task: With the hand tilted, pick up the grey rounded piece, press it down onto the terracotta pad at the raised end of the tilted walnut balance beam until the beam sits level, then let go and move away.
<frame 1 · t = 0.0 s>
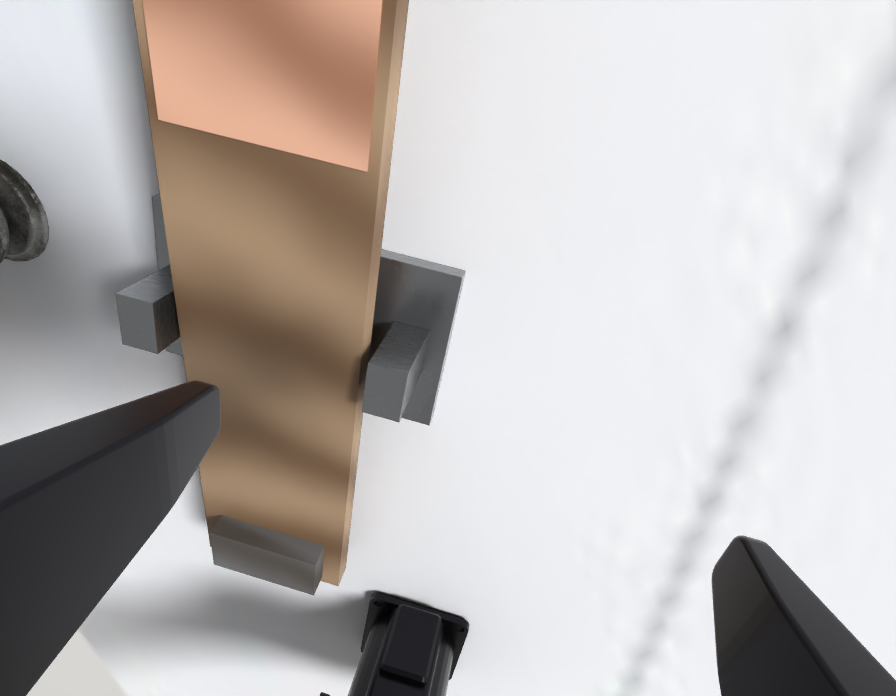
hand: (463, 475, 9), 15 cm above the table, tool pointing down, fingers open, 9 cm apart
grey rounded piece: (2, 207, 26), on the table
beam stand: (306, 310, 26), on the table
beam: (267, 349, 22), point 4 cm above the table, hinge at -5.0°
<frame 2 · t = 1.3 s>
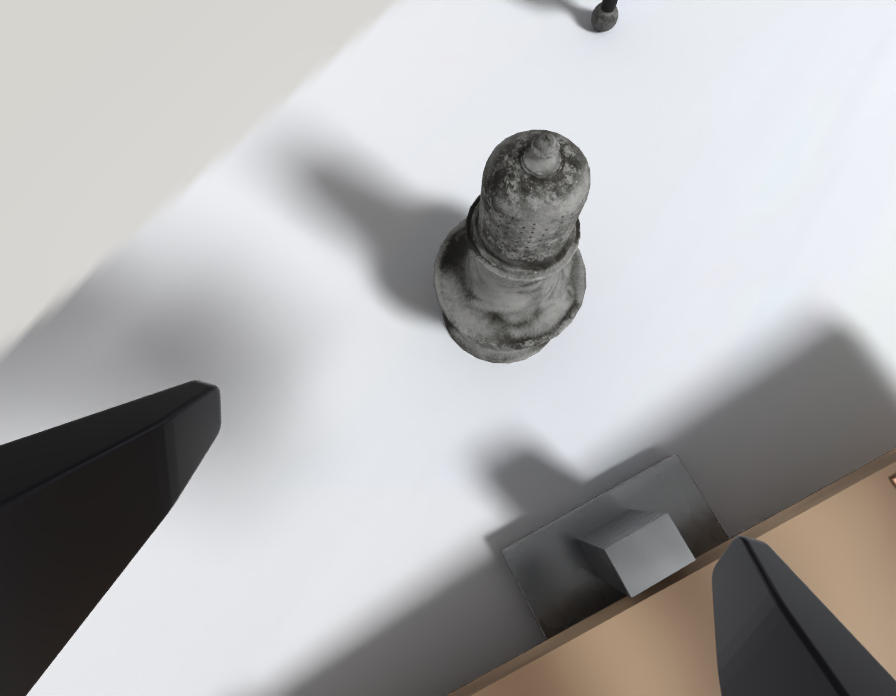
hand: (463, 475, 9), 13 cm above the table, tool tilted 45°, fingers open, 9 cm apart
grey rounded piece: (500, 307, 24), on the table
microphone: (600, 30, 28), on the table
beam stand: (683, 673, 20), on the table
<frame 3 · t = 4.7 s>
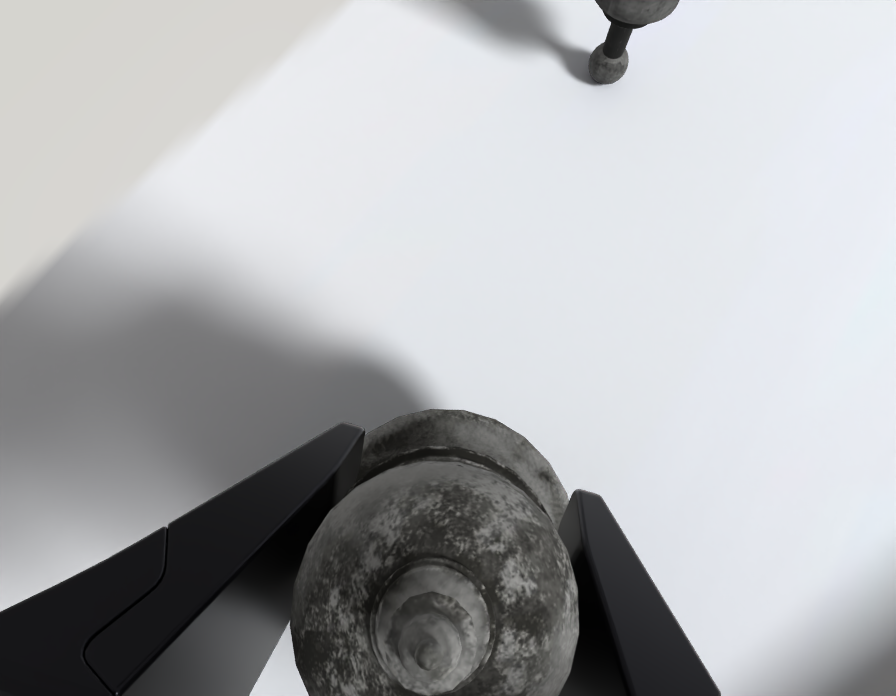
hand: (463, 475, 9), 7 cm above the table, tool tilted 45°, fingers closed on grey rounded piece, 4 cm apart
grey rounded piece: (444, 530, 15), on the table, touching gripper
microphone: (601, 81, 19), on the table
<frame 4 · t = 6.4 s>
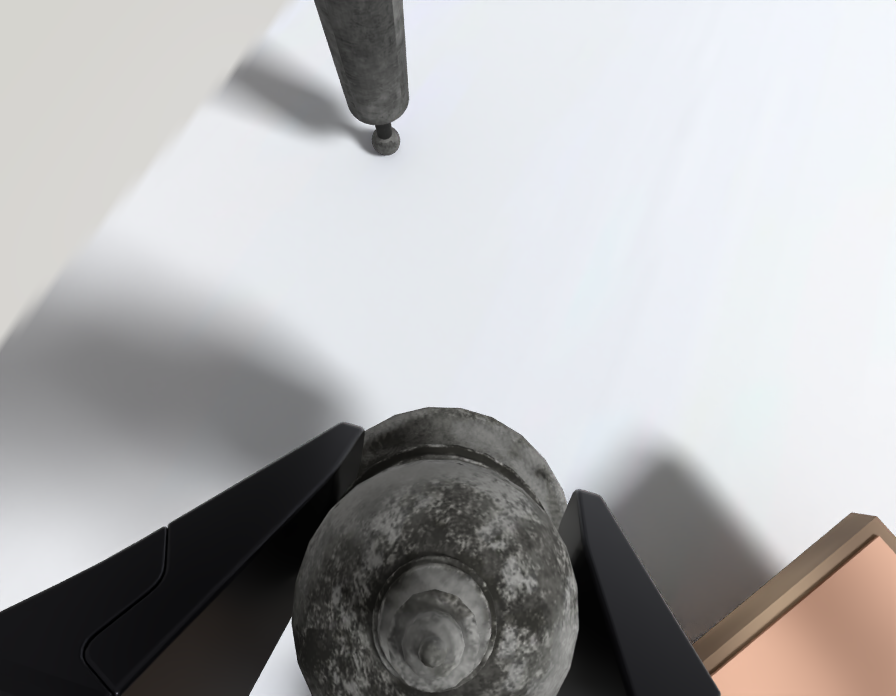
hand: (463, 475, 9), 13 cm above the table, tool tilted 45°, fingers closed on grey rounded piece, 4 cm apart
grey rounded piece: (441, 528, 15), point 6 cm above the table, touching gripper
microphone: (388, 151, 26), on the table
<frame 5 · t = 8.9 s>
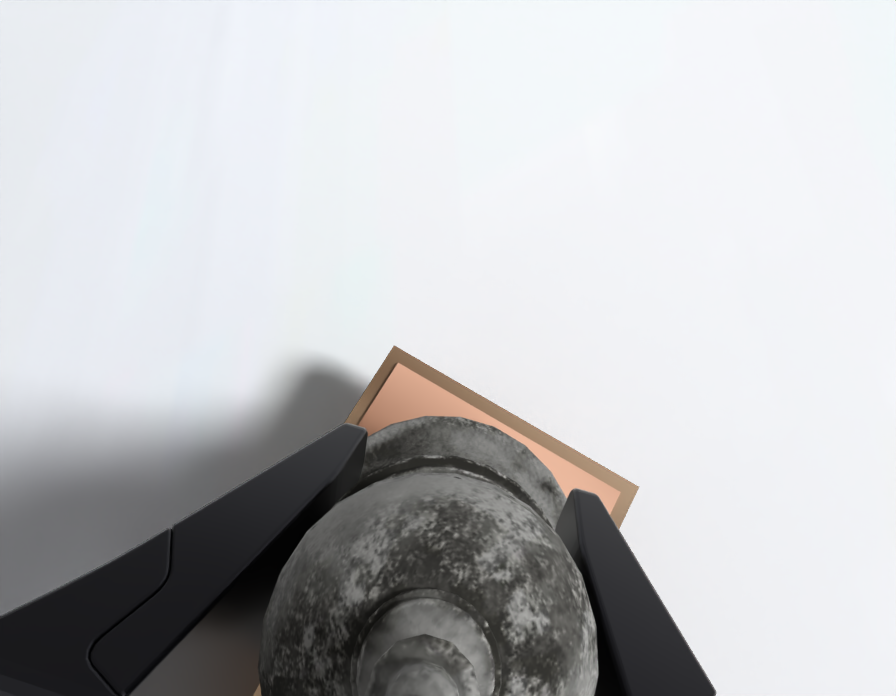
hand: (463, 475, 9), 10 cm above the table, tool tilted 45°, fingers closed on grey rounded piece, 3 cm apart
grey rounded piece: (440, 544, 15), point 4 cm above the table, touching beam, gripper
when the fingers open (10 cm above the table, at t = 10.2 s): grey rounded piece stays where it is, resting on beam.
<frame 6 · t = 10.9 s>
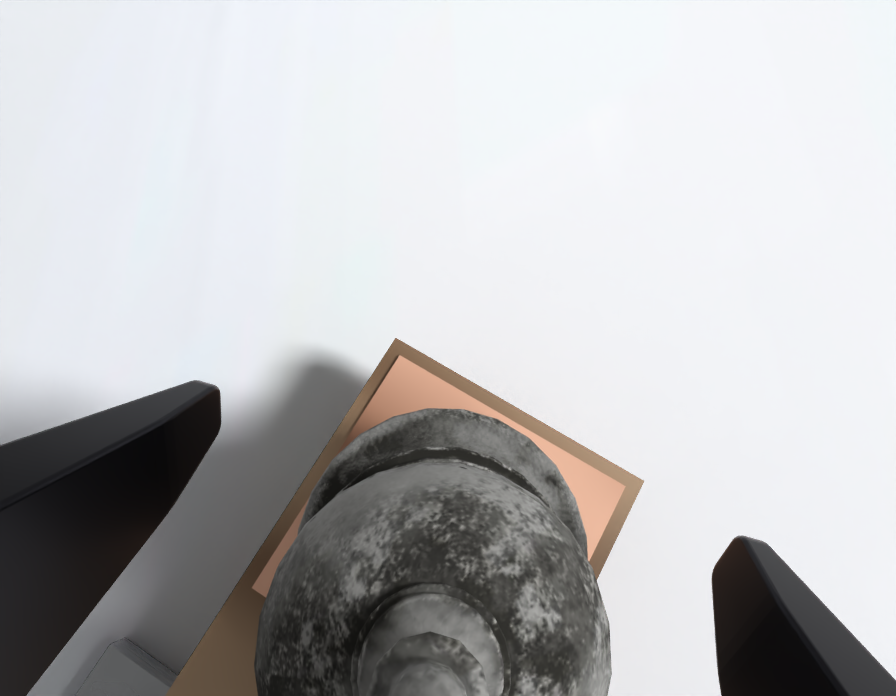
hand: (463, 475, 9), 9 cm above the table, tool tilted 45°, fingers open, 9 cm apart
grey rounded piece: (443, 539, 14), point 4 cm above the table, touching beam
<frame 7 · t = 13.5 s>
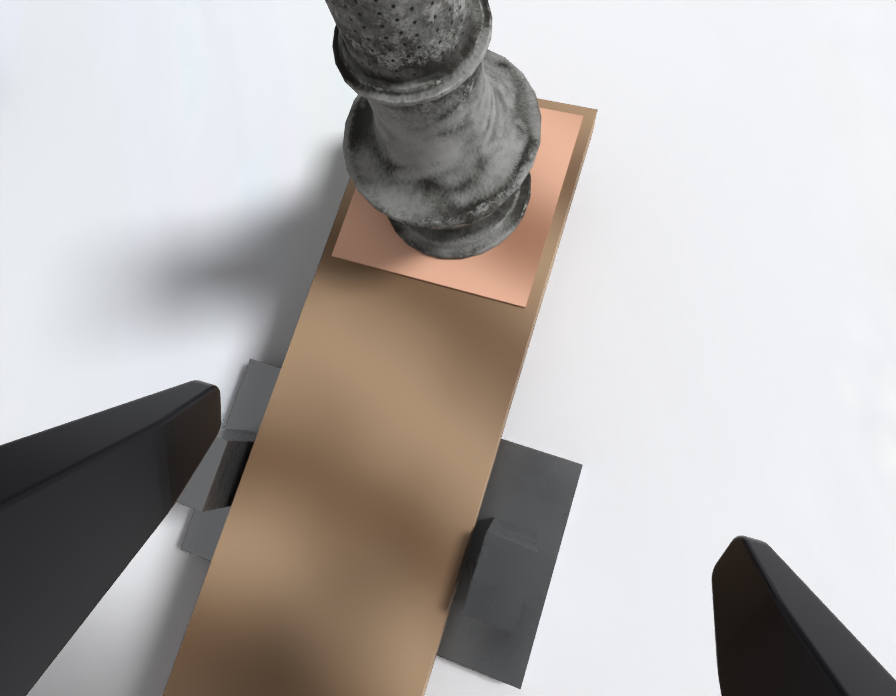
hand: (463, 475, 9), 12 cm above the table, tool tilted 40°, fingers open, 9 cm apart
grey rounded piece: (457, 191, 19), point 4 cm above the table, touching beam
beam stand: (378, 506, 21), on the table
beam: (346, 518, 18), point 4 cm above the table, hinge at 0.4°, touching grey rounded piece
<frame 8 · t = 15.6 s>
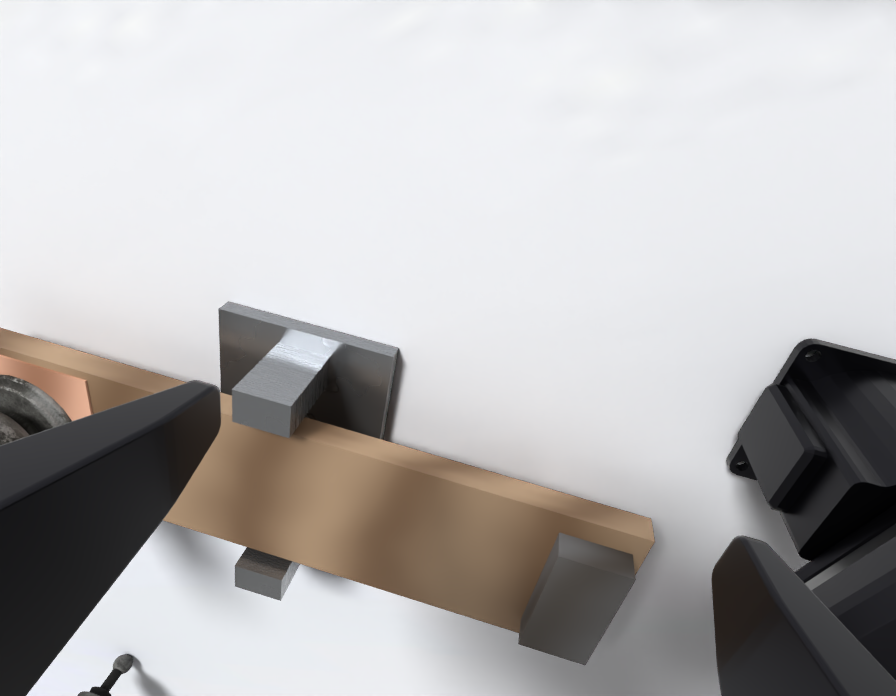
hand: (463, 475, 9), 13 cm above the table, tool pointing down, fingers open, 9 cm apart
grey rounded piece: (31, 420, 25), point 4 cm above the table, touching beam
microphone: (130, 653, 42), on the table
beam stand: (303, 442, 27), on the table
beam: (268, 495, 24), point 4 cm above the table, hinge at 0.4°, touching grey rounded piece
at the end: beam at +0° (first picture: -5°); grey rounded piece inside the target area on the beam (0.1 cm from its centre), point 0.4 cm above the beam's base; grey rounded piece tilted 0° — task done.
